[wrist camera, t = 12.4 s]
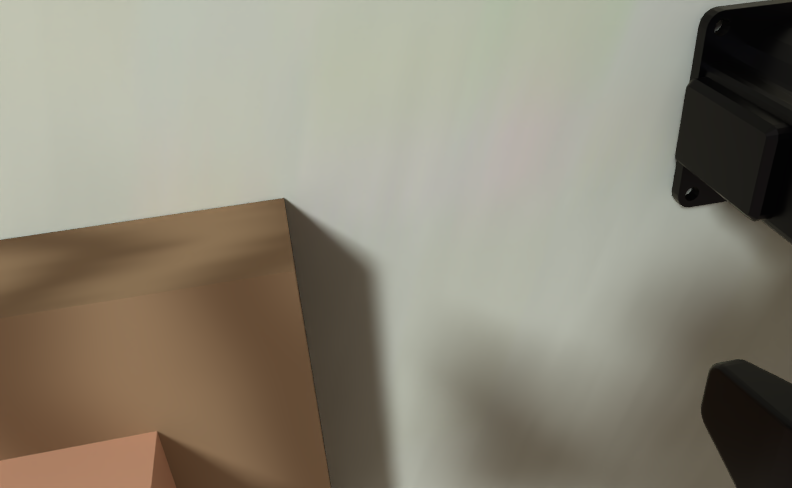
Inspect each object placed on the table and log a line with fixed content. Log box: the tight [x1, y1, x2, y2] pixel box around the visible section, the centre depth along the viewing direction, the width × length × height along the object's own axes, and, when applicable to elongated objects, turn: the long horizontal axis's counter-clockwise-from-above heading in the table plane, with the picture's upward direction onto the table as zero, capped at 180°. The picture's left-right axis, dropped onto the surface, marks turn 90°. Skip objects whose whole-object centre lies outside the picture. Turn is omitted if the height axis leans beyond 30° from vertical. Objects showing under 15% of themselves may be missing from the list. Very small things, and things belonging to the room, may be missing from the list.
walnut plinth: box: [0, 198, 331, 488], centre depth 23 cm, size 14×14×4 cm
